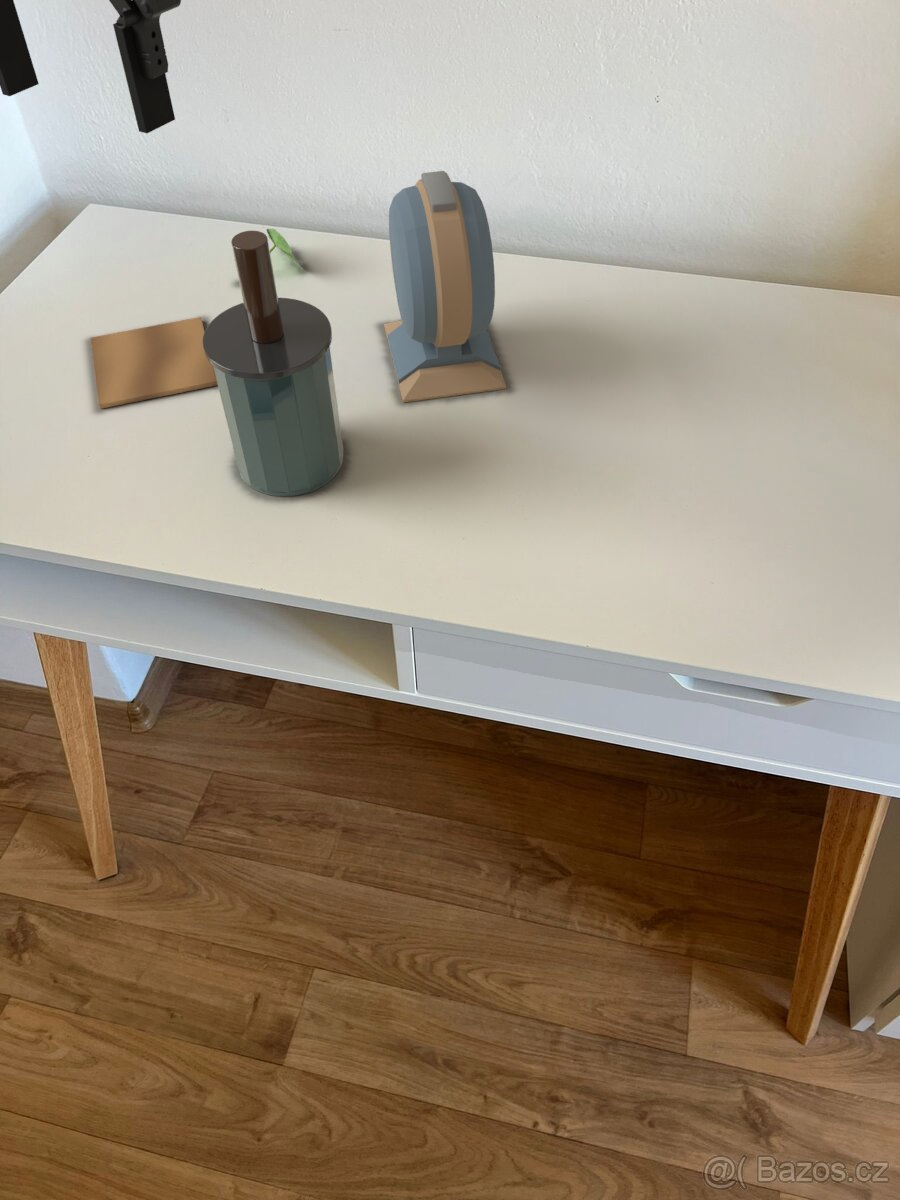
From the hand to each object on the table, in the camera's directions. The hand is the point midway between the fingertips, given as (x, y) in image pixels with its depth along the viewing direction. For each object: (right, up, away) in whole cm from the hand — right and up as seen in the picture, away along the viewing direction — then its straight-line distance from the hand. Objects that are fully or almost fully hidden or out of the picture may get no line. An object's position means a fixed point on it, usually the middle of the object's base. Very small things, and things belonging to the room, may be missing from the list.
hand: (86, 107), depth 71 cm
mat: (-3, -12, +27) cm, 30 cm away
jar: (+12, -22, +18) cm, 31 cm away
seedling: (+6, +1, +38) cm, 38 cm away
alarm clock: (+25, -11, +27) cm, 38 cm away
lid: (+11, -14, +8) cm, 20 cm away
